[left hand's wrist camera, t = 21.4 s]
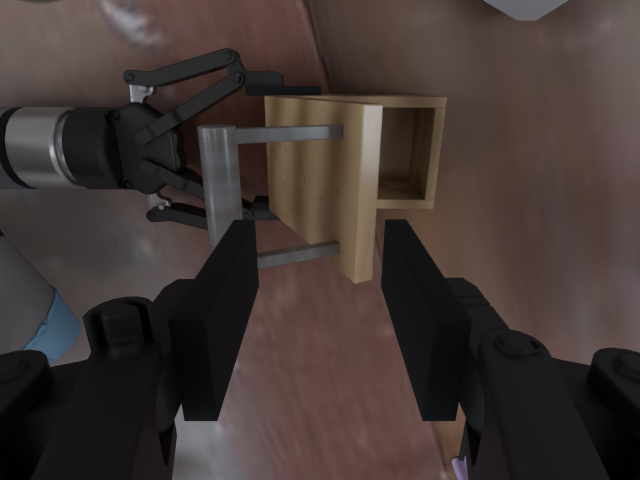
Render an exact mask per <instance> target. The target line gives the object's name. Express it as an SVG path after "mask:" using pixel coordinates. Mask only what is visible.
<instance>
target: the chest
mask: <svg viewBox="0 0 640 480" xmlns="http://www.w3.org/2000/svg"><path fill="white" fill-rule="evenodd" d="M273 96H289V97H302V98H315V99H328V100H341V101H353V102H366V103H379V104H383V117H382V133H381V148H380V164H379V179H378V195H377V208H382V209H433V208H434V199H435V191H436V183H437V174H438V166H439V158H440V149H441V141H442V133H443V125H444V116H445V107H446V100H447V97H442V96H432V95H416V94H321V95H273Z"/></svg>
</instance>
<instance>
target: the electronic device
mask: <svg viewBox="0 0 640 480" xmlns="http://www.w3.org/2000/svg"><path fill="white" fill-rule="evenodd" d="M483 1H485V2H487V3H488V4H490V5H492V6H493V7H495V8H497V9H499V10H500V11H502V12H504V13H505V14H507V15H509V16H511V17H512V18H514V19H516V20H525V21H536V20H538V19H540V18H541V17H543V16H544V15H546V14H548V13H549V12H551V11H552V10H554V9H556V8H557V7H559V6H560V5H562V4H564V3H565V2H567V1H568V0H483Z"/></svg>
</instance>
